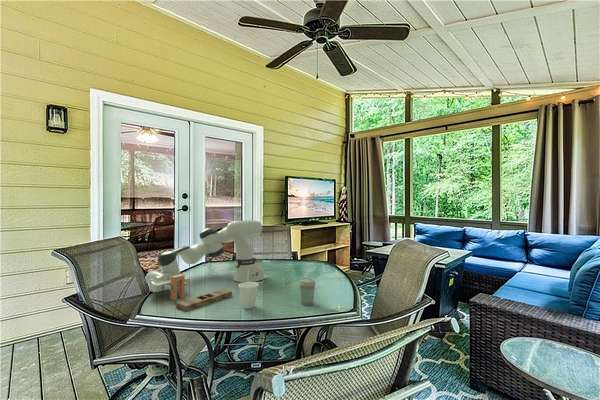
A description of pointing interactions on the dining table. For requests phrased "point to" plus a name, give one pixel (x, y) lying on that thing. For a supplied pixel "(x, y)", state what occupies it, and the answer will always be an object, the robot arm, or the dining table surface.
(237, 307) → the dining table surface
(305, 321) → the dining table surface
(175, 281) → the clip
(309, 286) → the coffee cup
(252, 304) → the cup
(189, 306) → the rail
